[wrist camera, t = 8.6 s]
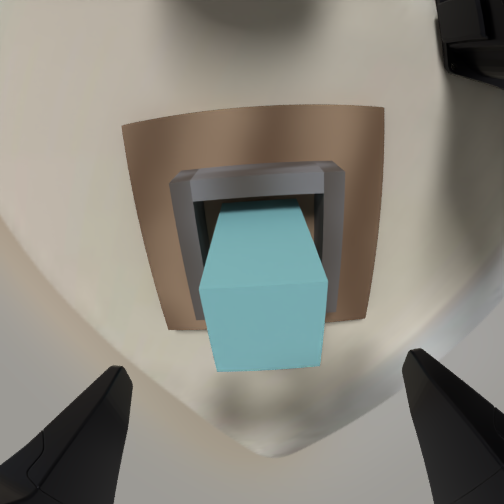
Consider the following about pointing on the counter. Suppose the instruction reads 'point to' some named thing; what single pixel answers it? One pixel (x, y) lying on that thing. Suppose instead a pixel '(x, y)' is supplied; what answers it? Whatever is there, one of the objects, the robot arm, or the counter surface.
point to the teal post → (263, 288)
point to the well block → (258, 192)
